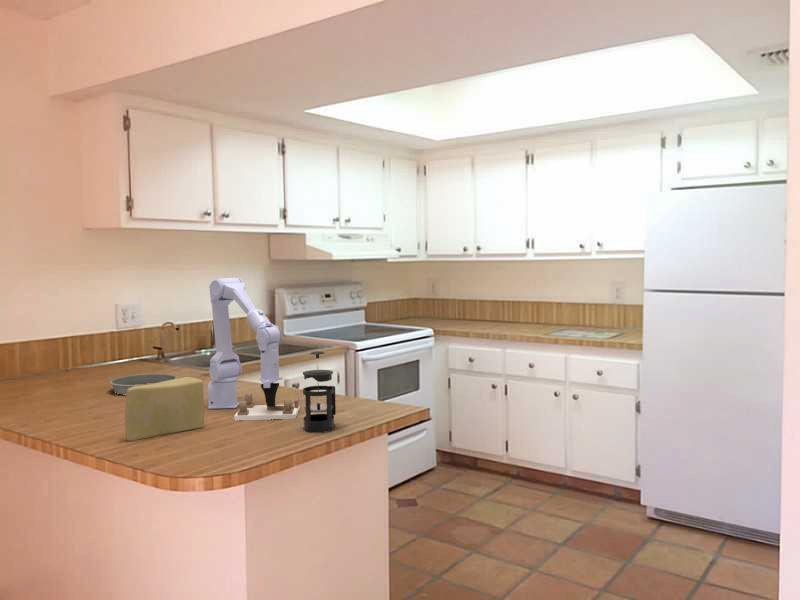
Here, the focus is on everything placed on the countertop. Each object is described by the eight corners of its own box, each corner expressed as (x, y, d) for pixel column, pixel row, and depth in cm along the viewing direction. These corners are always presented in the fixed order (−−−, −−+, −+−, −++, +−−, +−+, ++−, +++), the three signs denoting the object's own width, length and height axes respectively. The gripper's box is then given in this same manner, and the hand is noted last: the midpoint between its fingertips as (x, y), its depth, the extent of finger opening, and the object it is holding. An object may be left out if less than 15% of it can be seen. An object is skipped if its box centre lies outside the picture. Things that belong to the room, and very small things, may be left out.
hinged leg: (294, 409, 214) (293, 396, 213) (291, 410, 211) (291, 398, 211) (269, 408, 215) (269, 396, 215) (266, 410, 213) (266, 397, 212)
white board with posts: (234, 420, 206) (233, 403, 206) (242, 410, 220) (241, 393, 219) (295, 419, 207) (295, 401, 207) (299, 408, 221) (299, 392, 220)
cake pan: (164, 397, 243) (163, 384, 243) (98, 397, 244) (97, 385, 243) (186, 383, 268) (186, 372, 267) (126, 384, 268) (126, 373, 268)
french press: (317, 435, 188) (315, 355, 187) (294, 430, 194) (292, 352, 193) (345, 426, 198) (344, 350, 196) (322, 421, 203) (321, 347, 202)
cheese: (135, 444, 181) (133, 390, 180) (118, 438, 188) (116, 386, 187) (206, 428, 198) (204, 378, 197) (188, 422, 204) (186, 375, 203)
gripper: (279, 367, 204) (280, 410, 205) (285, 360, 219) (286, 400, 219) (256, 367, 204) (257, 411, 205) (263, 360, 218) (264, 401, 219)
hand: (270, 405), depth 212 cm, fingers closed, pressing on hinged leg
